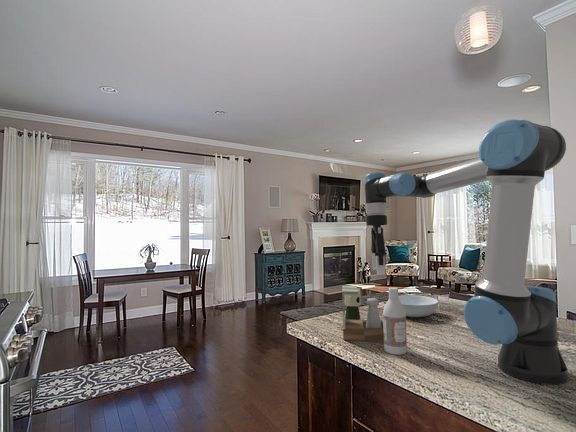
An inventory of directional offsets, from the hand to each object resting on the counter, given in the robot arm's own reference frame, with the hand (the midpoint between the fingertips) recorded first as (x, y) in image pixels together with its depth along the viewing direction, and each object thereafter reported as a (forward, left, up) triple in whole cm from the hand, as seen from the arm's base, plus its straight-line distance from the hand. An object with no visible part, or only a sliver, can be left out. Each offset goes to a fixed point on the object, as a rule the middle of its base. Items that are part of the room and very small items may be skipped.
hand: (378, 272), depth 119 cm
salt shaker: (-1, +2, -23) cm, 23 cm away
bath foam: (-15, -3, -23) cm, 28 cm away
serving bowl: (+30, -18, -23) cm, 42 cm away
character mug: (+18, +9, -23) cm, 31 cm away
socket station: (-1, +5, -23) cm, 24 cm away
